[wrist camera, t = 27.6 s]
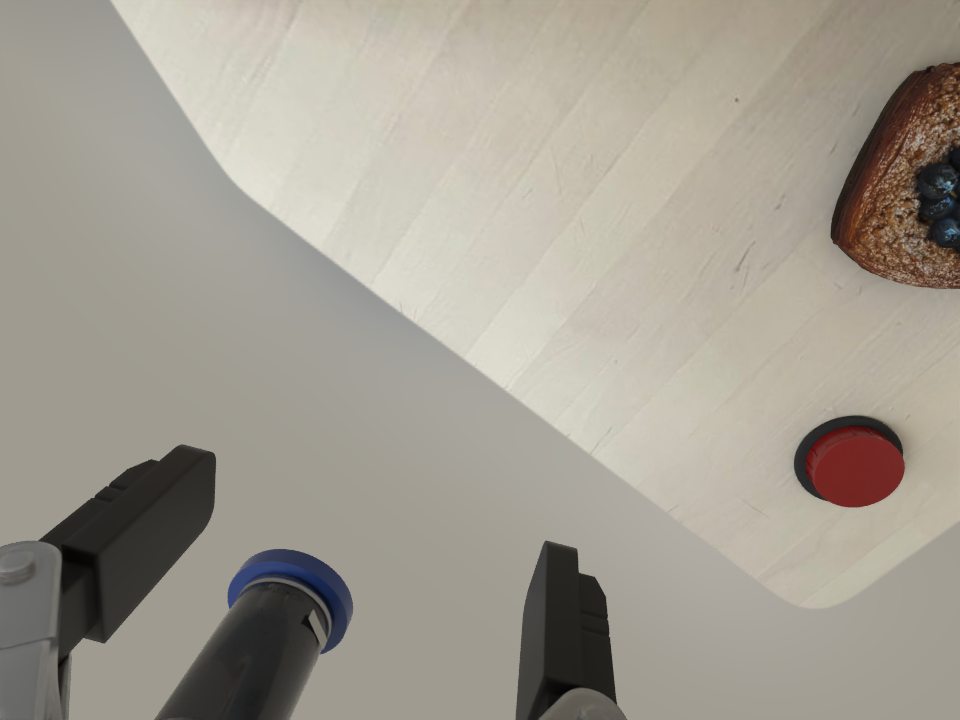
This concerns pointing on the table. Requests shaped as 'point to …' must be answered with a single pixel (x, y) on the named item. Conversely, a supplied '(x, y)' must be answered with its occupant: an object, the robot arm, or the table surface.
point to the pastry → (908, 186)
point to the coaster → (826, 428)
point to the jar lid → (854, 466)
